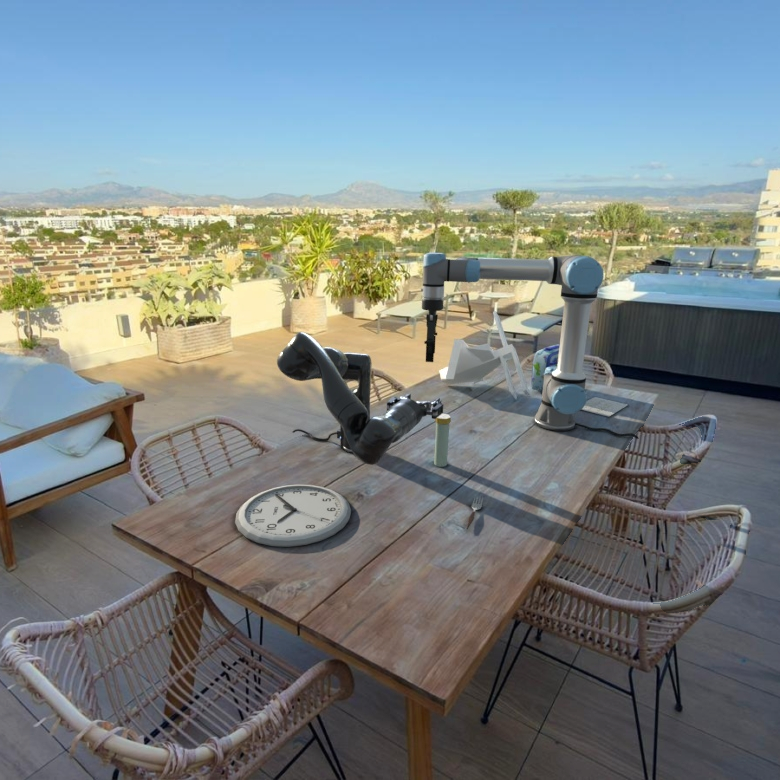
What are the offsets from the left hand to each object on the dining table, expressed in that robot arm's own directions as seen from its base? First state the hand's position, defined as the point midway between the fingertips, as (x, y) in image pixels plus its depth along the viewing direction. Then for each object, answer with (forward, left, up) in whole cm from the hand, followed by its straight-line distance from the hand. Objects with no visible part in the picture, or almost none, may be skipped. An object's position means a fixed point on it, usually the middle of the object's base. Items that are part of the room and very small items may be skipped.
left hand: (424, 399), depth 144 cm
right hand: (-14, +46, 0) cm, 48 cm away
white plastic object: (-7, +101, -28) cm, 104 cm away
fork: (+18, -8, -28) cm, 34 cm away
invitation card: (+46, +104, -28) cm, 116 cm away
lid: (0, +19, -12) cm, 22 cm away
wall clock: (-26, -27, -28) cm, 46 cm away
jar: (0, +19, -28) cm, 34 cm away
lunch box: (+23, +121, -28) cm, 126 cm away
